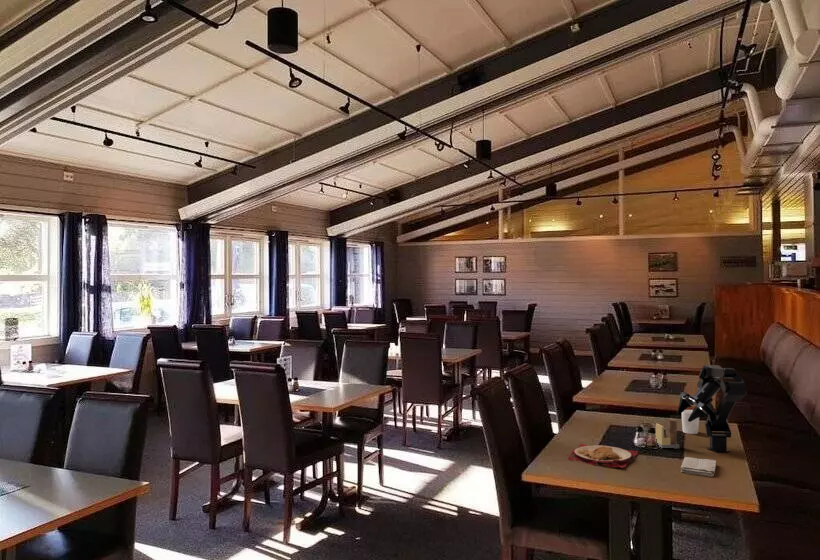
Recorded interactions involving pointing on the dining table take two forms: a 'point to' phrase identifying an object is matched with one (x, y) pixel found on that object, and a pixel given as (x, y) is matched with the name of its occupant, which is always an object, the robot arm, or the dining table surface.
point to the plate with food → (603, 455)
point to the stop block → (671, 429)
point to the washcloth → (698, 466)
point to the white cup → (689, 423)
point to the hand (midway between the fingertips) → (683, 417)
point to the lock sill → (663, 438)
